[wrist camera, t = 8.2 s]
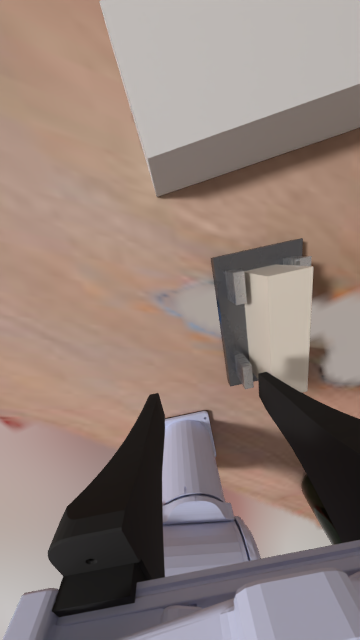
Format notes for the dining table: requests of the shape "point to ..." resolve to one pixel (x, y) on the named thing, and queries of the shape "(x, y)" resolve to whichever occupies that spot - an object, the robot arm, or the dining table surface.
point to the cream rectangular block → (280, 322)
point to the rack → (245, 300)
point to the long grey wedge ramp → (234, 79)
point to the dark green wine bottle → (319, 510)
